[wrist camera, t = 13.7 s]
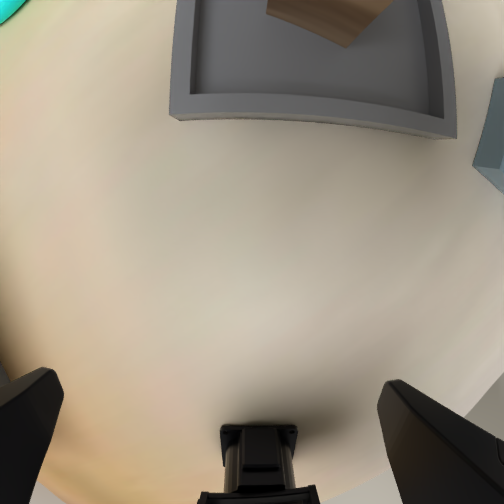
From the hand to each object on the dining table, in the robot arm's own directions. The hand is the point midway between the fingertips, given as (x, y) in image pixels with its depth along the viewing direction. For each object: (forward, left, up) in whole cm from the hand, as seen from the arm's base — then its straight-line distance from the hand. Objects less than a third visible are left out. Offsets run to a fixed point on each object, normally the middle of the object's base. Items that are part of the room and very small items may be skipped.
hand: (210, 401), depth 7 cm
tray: (+16, -5, -12) cm, 21 cm away
